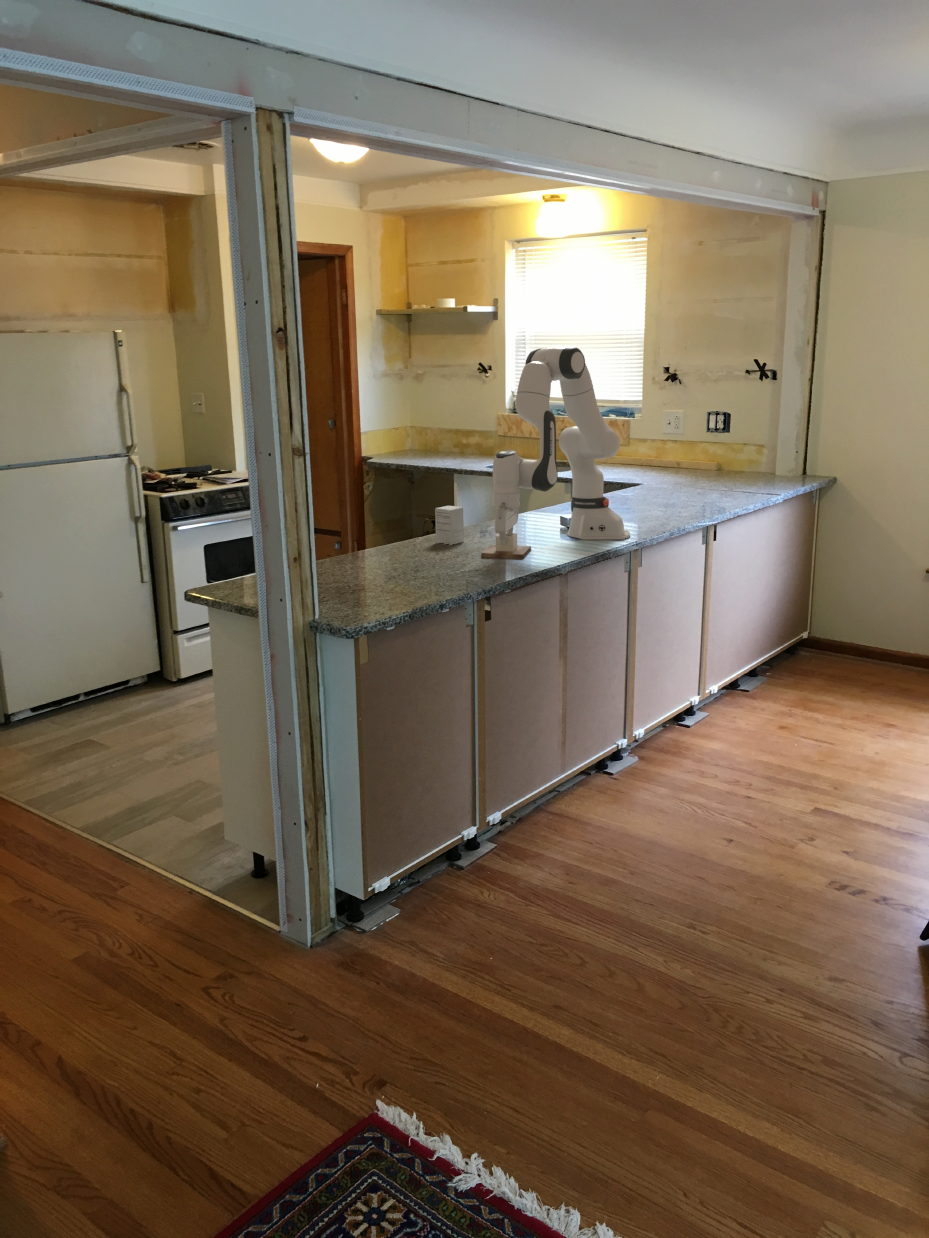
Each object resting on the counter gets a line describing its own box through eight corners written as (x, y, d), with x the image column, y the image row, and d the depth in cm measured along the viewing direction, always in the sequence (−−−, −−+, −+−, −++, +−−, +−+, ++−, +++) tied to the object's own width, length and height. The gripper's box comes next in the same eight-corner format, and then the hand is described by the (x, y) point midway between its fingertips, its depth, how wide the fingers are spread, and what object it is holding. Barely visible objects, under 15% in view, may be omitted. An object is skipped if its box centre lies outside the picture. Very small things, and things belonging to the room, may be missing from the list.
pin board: (530, 550, 338) (530, 533, 336) (522, 559, 325) (522, 541, 323) (490, 549, 341) (490, 531, 340) (481, 557, 328) (481, 539, 327)
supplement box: (448, 539, 359) (447, 505, 355) (464, 542, 354) (464, 507, 351) (435, 543, 353) (434, 507, 350) (451, 545, 349) (450, 509, 345)
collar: (517, 548, 335) (517, 533, 333) (513, 551, 329) (513, 536, 328) (499, 547, 336) (499, 532, 335) (495, 551, 331) (495, 536, 329)
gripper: (509, 505, 318) (509, 548, 321) (521, 496, 337) (521, 536, 341) (489, 505, 319) (490, 547, 323) (503, 496, 338) (503, 536, 342)
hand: (506, 542), depth 332 cm, fingers open, 8 cm apart
